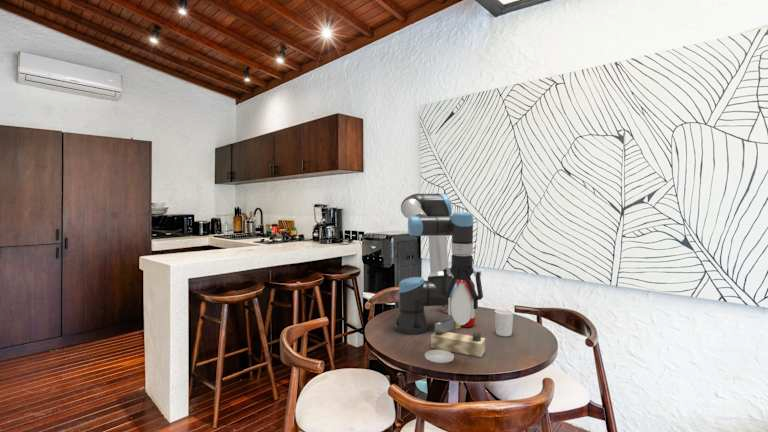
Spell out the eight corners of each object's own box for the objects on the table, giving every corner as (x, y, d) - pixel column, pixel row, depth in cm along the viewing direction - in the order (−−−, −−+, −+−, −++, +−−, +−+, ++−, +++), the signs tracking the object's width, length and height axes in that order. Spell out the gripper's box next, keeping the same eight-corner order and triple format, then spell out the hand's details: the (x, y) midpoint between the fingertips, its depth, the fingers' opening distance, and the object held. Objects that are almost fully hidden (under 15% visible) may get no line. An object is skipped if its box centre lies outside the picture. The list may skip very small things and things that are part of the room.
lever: (439, 334, 149) (439, 324, 149) (432, 332, 151) (432, 322, 151) (460, 327, 158) (460, 317, 157) (453, 325, 160) (453, 315, 160)
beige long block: (431, 347, 149) (431, 329, 149) (436, 341, 155) (437, 324, 155) (481, 357, 140) (481, 337, 140) (485, 350, 146) (485, 331, 146)
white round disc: (420, 359, 138) (420, 357, 138) (430, 349, 148) (430, 347, 148) (448, 365, 133) (448, 363, 133) (457, 354, 142) (457, 352, 142)
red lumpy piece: (477, 322, 181) (477, 271, 180) (471, 329, 171) (471, 275, 170) (458, 319, 185) (459, 269, 184) (451, 325, 176) (452, 273, 175)
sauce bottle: (449, 326, 135) (449, 277, 134) (452, 319, 142) (452, 273, 141) (471, 329, 132) (471, 279, 131) (473, 322, 139) (473, 274, 138)
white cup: (514, 337, 160) (514, 314, 160) (495, 336, 162) (495, 313, 161) (511, 331, 168) (512, 309, 168) (493, 330, 169) (493, 308, 169)
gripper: (431, 253, 137) (431, 314, 138) (488, 258, 128) (487, 323, 129) (438, 251, 143) (437, 309, 145) (492, 254, 134) (491, 316, 136)
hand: (461, 315), depth 137 cm, fingers closed on sauce bottle, 8 cm apart
